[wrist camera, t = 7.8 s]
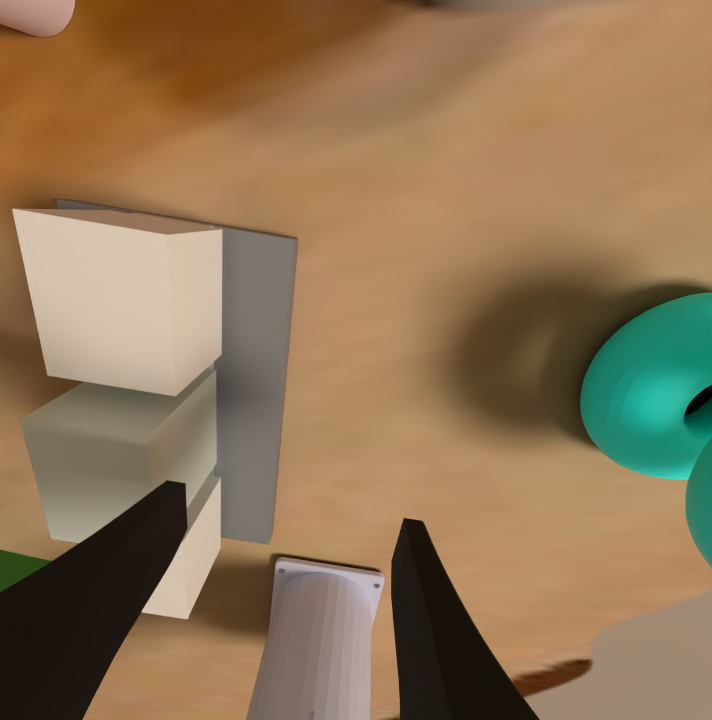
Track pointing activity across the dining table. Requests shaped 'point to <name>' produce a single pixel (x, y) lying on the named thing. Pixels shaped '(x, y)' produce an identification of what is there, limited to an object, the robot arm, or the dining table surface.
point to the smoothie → (36, 15)
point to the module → (117, 450)
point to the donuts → (658, 402)
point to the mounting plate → (248, 371)
